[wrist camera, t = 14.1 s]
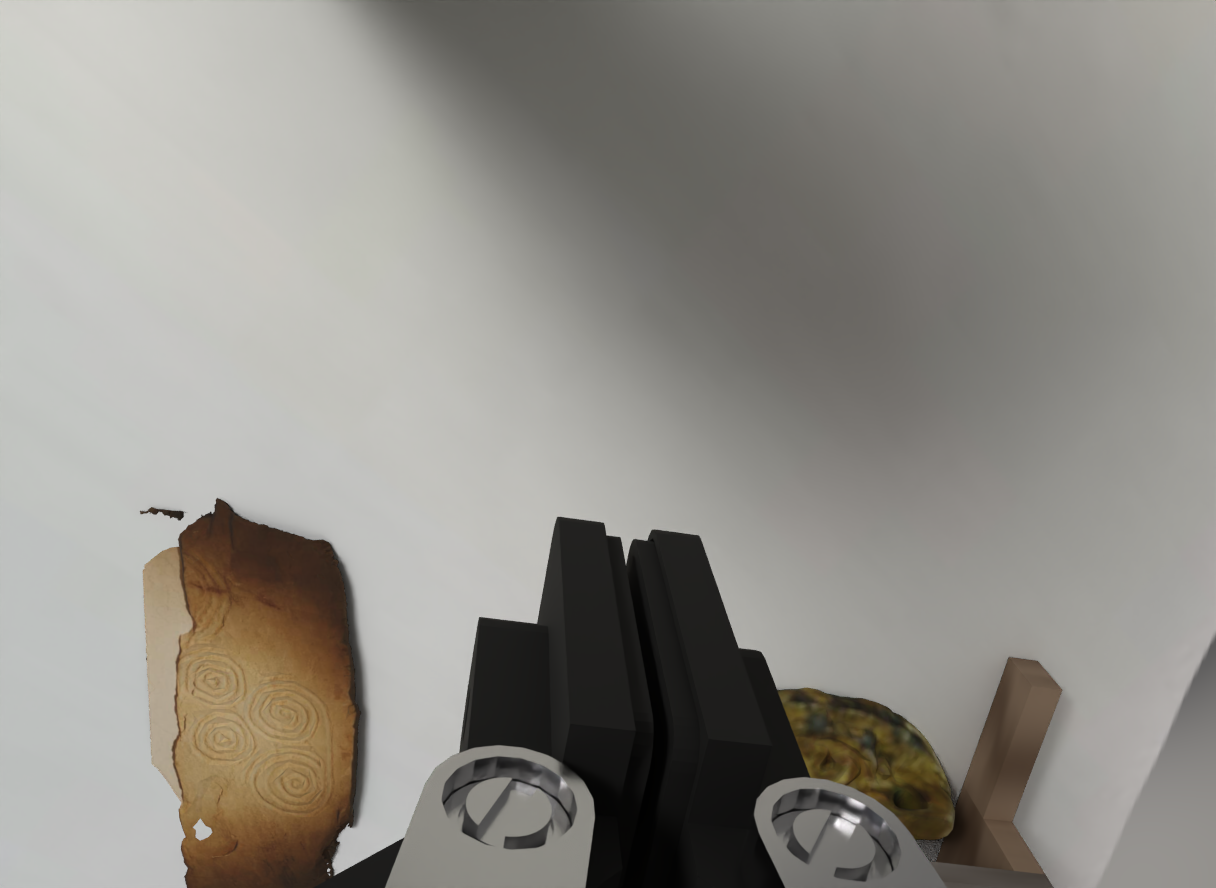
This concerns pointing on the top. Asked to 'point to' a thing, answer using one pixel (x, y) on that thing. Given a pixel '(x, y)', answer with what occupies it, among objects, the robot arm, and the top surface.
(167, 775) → the parchment
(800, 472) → the top surface
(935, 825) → the mottled yellow-brown oval piece
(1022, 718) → the wooden step block
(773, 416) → the top surface
